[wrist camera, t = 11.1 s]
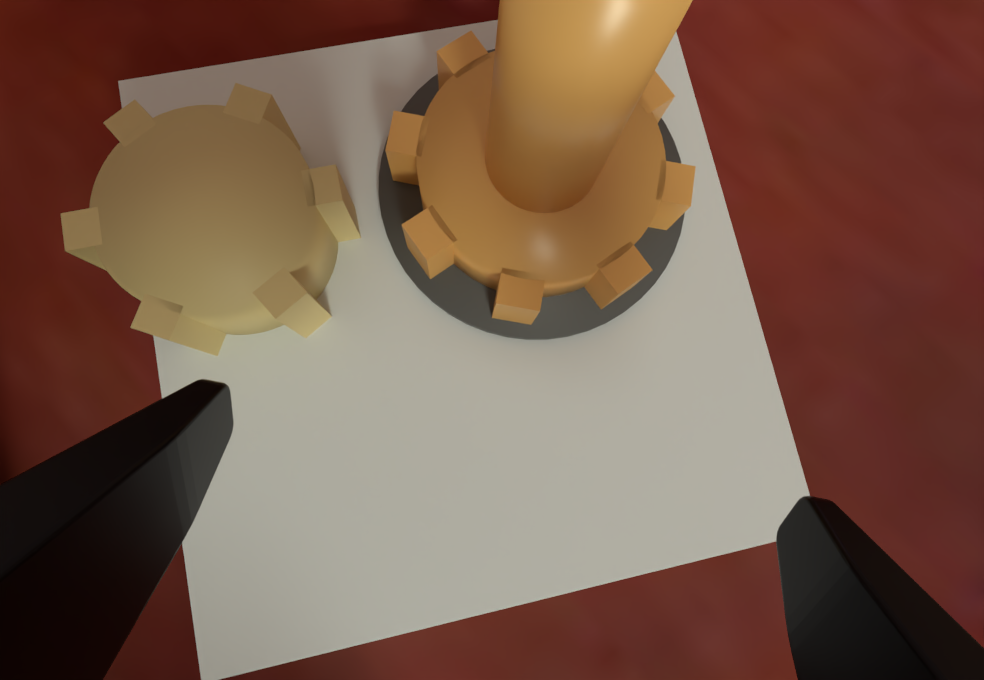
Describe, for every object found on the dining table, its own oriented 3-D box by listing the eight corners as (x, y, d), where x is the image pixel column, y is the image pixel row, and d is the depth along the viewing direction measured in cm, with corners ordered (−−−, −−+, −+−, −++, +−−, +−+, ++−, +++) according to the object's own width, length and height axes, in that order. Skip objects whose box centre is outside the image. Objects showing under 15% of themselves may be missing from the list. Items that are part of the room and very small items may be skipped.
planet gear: (501, 380, 18) (555, 309, 8) (339, 152, 19) (206, -169, 9) (724, 222, 19) (1013, -11, 9) (562, 14, 20) (665, -406, 10)
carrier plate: (207, 666, 18) (123, 743, 13) (128, 109, 20) (37, 17, 16) (792, 523, 19) (891, 549, 15) (650, 22, 22) (699, -83, 17)
